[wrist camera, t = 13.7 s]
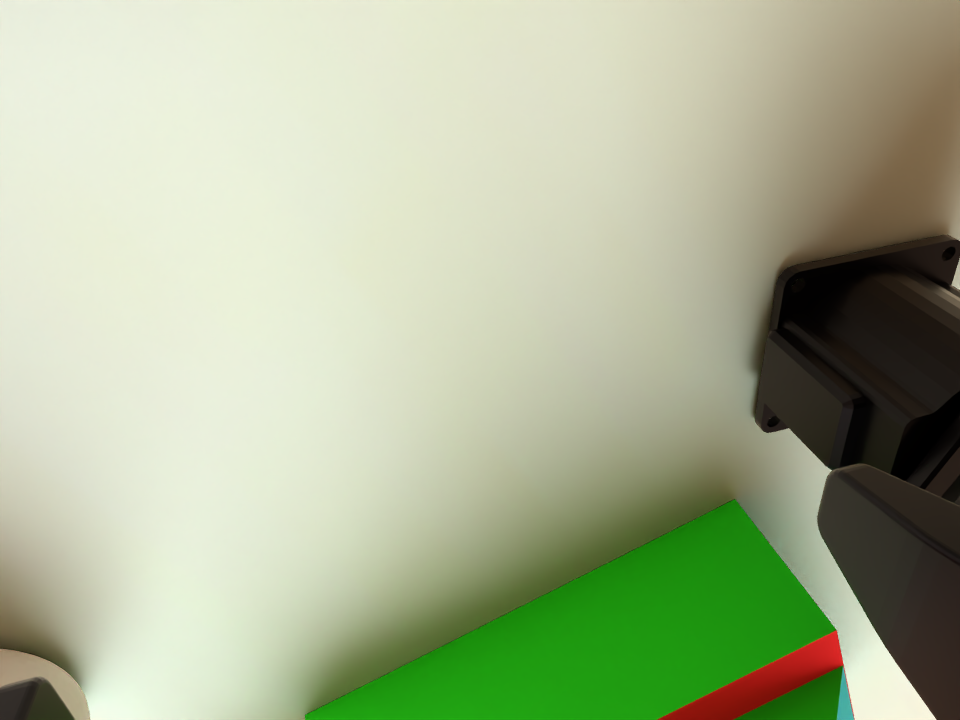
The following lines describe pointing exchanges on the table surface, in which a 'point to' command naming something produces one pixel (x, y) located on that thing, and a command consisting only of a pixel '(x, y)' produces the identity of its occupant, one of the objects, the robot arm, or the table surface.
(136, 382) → the table surface
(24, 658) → the cup
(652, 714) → the building blocks toy
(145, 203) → the table surface
